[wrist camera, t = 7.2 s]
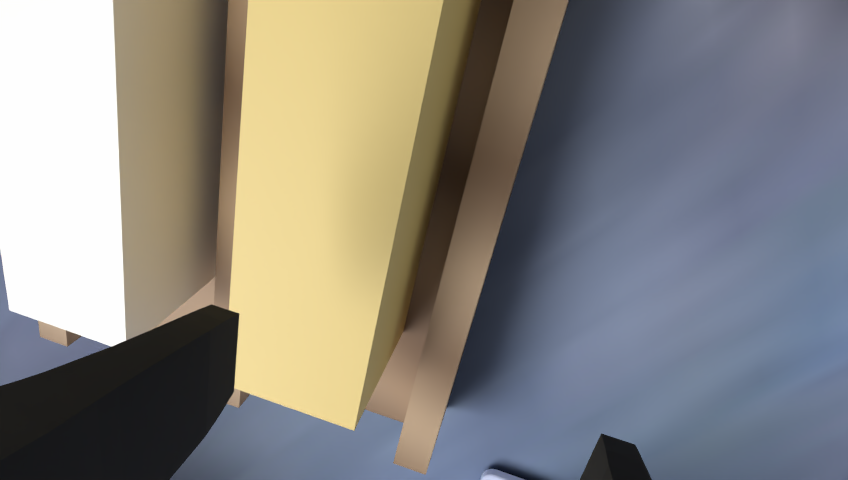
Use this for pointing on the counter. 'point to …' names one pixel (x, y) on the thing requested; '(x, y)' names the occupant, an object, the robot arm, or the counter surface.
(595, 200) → the counter surface
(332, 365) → the pale yellow bar
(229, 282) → the slot board
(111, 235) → the white bar
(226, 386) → the robot arm
